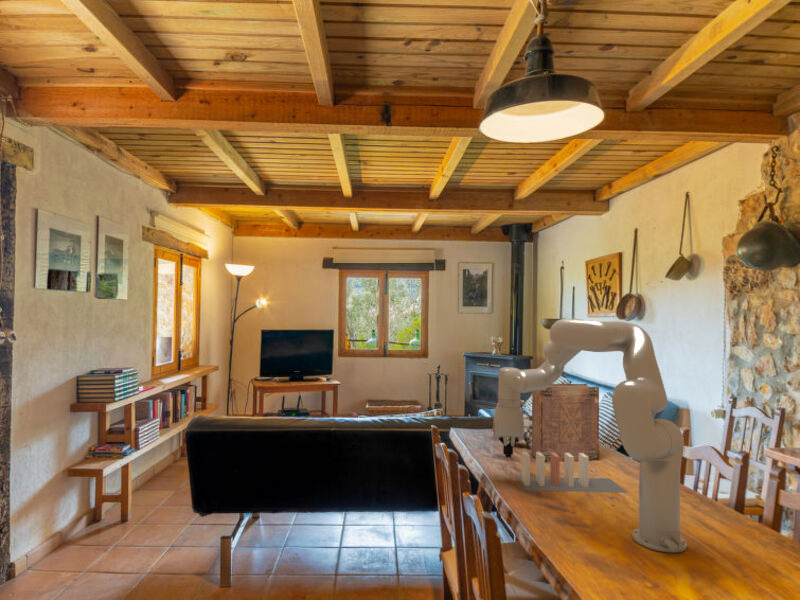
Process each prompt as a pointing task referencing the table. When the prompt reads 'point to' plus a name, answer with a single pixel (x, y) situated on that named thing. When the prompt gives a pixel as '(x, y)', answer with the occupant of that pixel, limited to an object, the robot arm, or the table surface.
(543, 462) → the domino
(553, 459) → the domino
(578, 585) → the table surface
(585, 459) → the domino
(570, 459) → the domino
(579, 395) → the book
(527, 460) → the domino
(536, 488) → the domino mat
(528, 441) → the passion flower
